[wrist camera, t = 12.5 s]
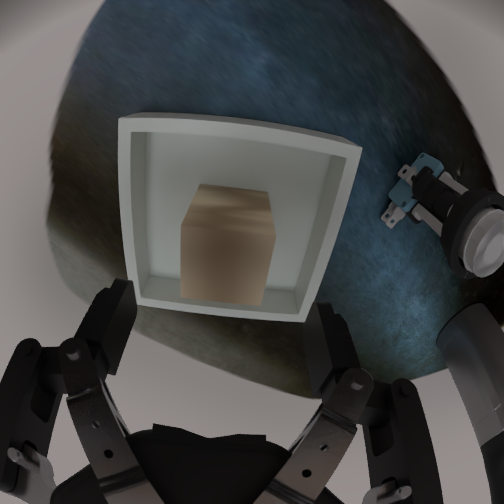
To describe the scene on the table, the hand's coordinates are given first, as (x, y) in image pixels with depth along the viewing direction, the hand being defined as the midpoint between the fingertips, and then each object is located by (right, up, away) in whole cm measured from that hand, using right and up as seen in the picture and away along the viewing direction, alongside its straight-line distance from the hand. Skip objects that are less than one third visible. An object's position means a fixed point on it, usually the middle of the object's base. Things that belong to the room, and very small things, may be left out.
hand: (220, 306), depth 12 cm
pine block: (0, +5, +7) cm, 9 cm away
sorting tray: (0, +5, +8) cm, 9 cm away
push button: (+13, +8, +7) cm, 17 cm away
